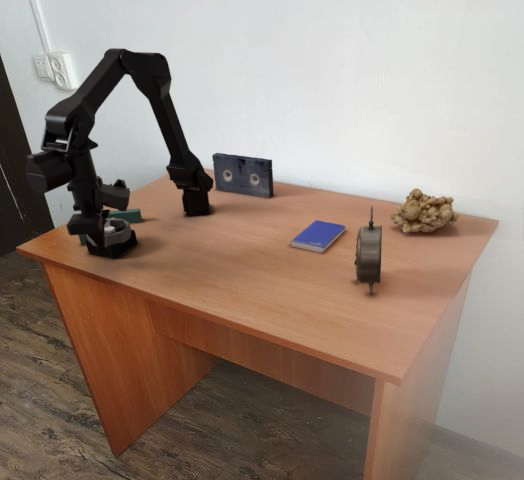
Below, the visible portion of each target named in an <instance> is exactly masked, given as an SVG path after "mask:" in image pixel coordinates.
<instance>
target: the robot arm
mask: <svg viewBox="0 0 524 480" xmlns="http://www.w3.org/2000/svg"><path fill="white" fill-rule="evenodd" d="M171 74H172V73H171V70H170V65H169V62H168V60H167V57H166V56H165V55H164V54H162V53H161V52H144V51H143V52H141V51H132V50H128V49H127V48H120V47H119V48H114V47H113V48H108V49H107V50H105V52H104V53H103V57H102V58H101V59H100V61H99V62H98V63H97V64H96V66H95V67H94V68H93V69H92V70H91V72H90V73H89V74H88V75H87V77H86V78H85V79H84V80H83V82H82V83H81V85H80V86H79V87H78V88H77V89H76V91H75V92H74V93H72V94H71V95H70V96H69V97H66V98H64V99H62V100H60V101H58V102H57V103H56V104H54V105H53V106H52V107H51V108H49V109H48V110H47V112H46V114H45V116H44V121H45V125H44V129H43V135H42V139H41V143H40V150H41V151H39V152H37V153H30V154H28V155H26V160H27V164H25V173H24V174H25V178H26V180H27V182H28V183H29V185H30V186H31V188H32V189H33V190H34V191H35V192H37V193H38V194H41V195H43V194H46V193H48V192H51V191H53V190H56V189H58V188H60V187H62V186H65V185H66V189H67V192H68V193H69V192H70V193H71V195H72V198H73V202H74V203H73V205H72V209H73V212H80V213H73V214H72V215H71V217H70V218H69V220H68V222H67V224H66V225H65V227H66V229H67V233H68V235H69V236H78V235H81V234H87V235H88V236H89V237H90V238H91V239H92V240H93V241H94V242H95V243H96V245H97V246H98V247H99V248H103V247H104V246H105V230H104V224H105V222H106V220H107V217H108V215H109V212H110V211H111V209H113V210H119V211H127V210H128V207H129V203H130V197H131V190H130V188H129V187H128V185H127V183H126V180H125V179H120V178H117V179H116V180H115V182H114V183H113V184H112V183H109V184H106V183H104V182H103V178H102V177H101V176H100V175H98V174H97V170H96V168H95V163H94V160H93V156H92V152H91V150H94V149H97V148H98V147H99V143H97V142H96V141H94V140H92V139H91V138H90V137H89V136H90V134H91V132H92V130H93V129H94V127H95V124H96V114H97V112H98V111H99V109H100V108H101V106H102V105H103V104H104V102H105V101H106V100H107V99H108V97H109V96H110V95H111V94H112V92H113V91H114V90H115V88H116V87H117V86H118V84H119V83H120V82H121V80H122V79H123V78H124V77H125V76H126V75H127V76H130V78H131V80H132V82H133V84H134V85H135V87H136V89H137V90H138V91H139V92H140V93H141V94H142V95H143V96H144V97H145V98H146V99H147V100H148V102H149V105H150V107H151V109H152V110H151V111H152V112H153V115H154V117H155V120H156V123H157V126H158V128H159V130H160V134H161V135H162V136H161V137H162V138H163V141H164V143H165V146H166V148H167V151H168V153H169V156H170V157H169V162H168V164H167V165H166V166H165V169H166V172H167V173H168V176H169V180H170V181H172V182H173V184H174V185H175V187H176V189H177V190H181V191H182V194H181V200H182V201H181V202H182V208H183V212H184V213H185V216H186V217H195V216H205V215H207V216H208V215H211V204H210V197H209V192H211V190H212V189H214V179H213V178H212V176H210V175H209V174H208V173H207V172H206V171H205V168H204V166H203V165H202V162H201V160H200V159H199V158H198V157H197V156H196V154H195V153H193V151H191V149H190V147H189V145H188V141H187V138H186V136H185V133H184V130H183V127H182V125H181V121H180V119H179V116H178V114H177V111H176V108H175V104H174V102H173V98H172V96H171V93H170V91H171V86H172V79H173V78H172V75H171ZM60 141H63V142H60ZM65 142H67V143H65ZM104 208H107V209H104Z"/></svg>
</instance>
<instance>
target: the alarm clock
mask: <svg viewBox="0 0 524 480" xmlns="http://www.w3.org/2000/svg"><path fill="white" fill-rule="evenodd" d="M369 216H370V217H369V218H370V220H369V221H368V225H362V226H361V227H360V228H359V229H358V231H357V235H356V238H355V239H354V240H355V242H356V245H355V248H356V249H355V259H354V262H353V265H354V266H355V276H356V279H355V280H354V283H357V282H358V283H360V284H368V285H369V287H368V288H369V292H368V294H369V295H370V296H372V295H373V290H374V285H375V284H380V283H381V279H382V278H381V277H382V276H381V275H382V274H381V273H382V243H383V242H382V241H383V225H374V223H375V222H374V220H373V219H374V205H371V206H370V215H369Z"/></svg>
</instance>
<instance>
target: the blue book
mask: <svg viewBox="0 0 524 480" xmlns="http://www.w3.org/2000/svg"><path fill="white" fill-rule="evenodd" d="M345 231H346V226H345V225H344V224H340V223H333V222H328V221H323V220H314V221H313V222H311V224H309V225H308V226H307V227H305V228H304V229H303V230H302V231H301V232H300V233H298V234H297V235H296V236H295V237H294V238H292V239H291V240H290V246H291V247H293V248H297V249H302V250H306V251H311V252H316V253H319V254H320V253H324V252H325V251H326V250H327V249H328V248H329V247H330V246H331V245H332V244H333V243H334V242H335V241H336V240H337V239H338V238H339V237H340V236H342V234H343V233H345Z"/></svg>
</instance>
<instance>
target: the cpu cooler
mask: <svg viewBox="0 0 524 480" xmlns="http://www.w3.org/2000/svg"><path fill="white" fill-rule="evenodd" d="M104 230H105V246H104V247H103V248H99V247H98V246H97V245H96V243H95V242H94V241H93V240H92V239H91V238H90V237H89V236H88V235H87V239H85V241H86V245H85V246H86V249H87V252H88V254H90V255H94V256H100V257H103V258H111V259H115V258H116V257H117V258H120V257H121V256H123V255H124V254H126V253H127V252H128V251H129V250H131V249H132V248H134V247H135V246H137V245H138V244H139V243H138V238H137V234H136V231H135V229H132V228H131V223H129V222H127V221H125V220H123V219H116V218H107V220H106V222H105V224H104Z"/></svg>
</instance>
